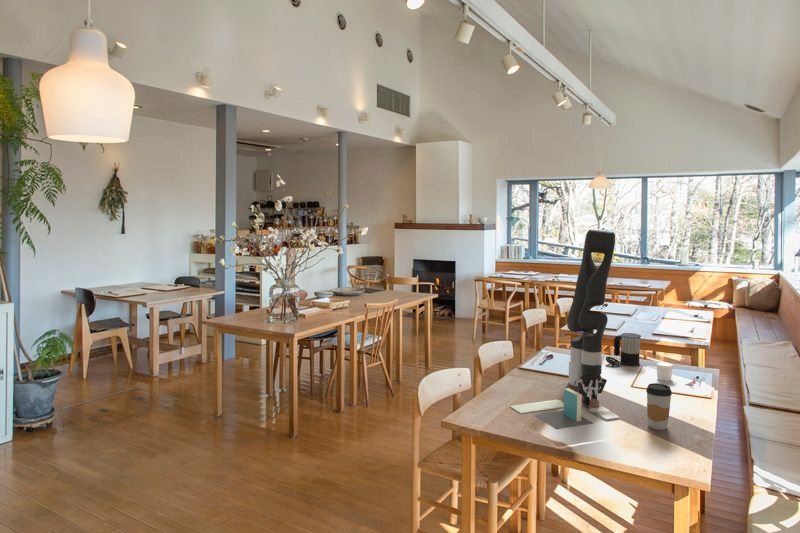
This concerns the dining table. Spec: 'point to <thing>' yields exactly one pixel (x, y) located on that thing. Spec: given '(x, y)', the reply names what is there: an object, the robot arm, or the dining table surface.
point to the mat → (561, 420)
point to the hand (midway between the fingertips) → (590, 404)
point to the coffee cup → (658, 405)
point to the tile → (572, 404)
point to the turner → (600, 410)
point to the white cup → (664, 371)
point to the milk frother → (626, 350)
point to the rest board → (538, 406)
